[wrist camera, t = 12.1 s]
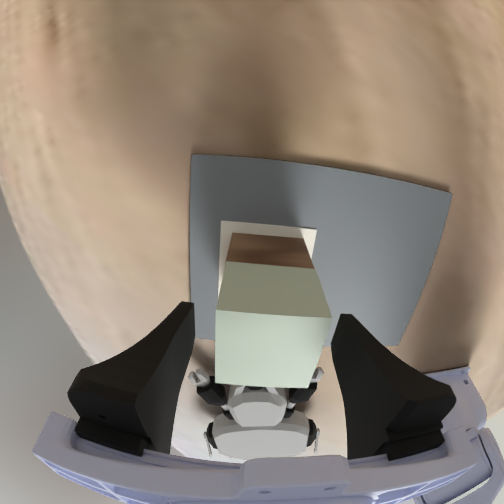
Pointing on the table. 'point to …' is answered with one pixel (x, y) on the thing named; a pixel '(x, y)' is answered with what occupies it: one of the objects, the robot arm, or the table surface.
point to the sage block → (269, 325)
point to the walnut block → (269, 250)
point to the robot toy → (257, 418)
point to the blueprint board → (319, 234)
